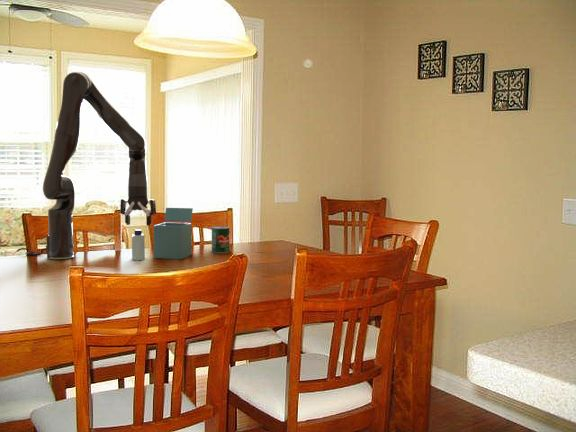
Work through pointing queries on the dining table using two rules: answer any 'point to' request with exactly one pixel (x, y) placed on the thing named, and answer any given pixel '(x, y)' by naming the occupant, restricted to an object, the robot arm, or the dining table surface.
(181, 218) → the flap
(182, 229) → the carton
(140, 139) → the robot arm
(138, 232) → the bottle
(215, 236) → the canned tomato
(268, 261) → the dining table surface
